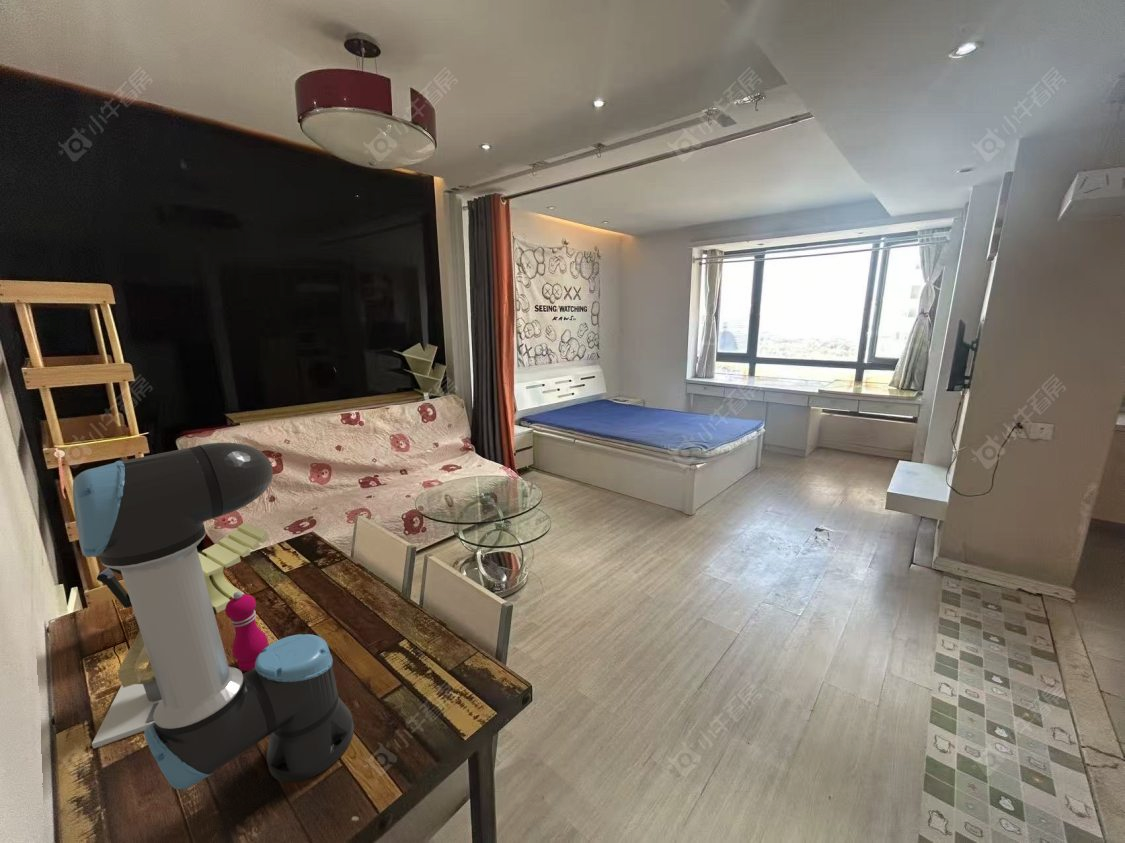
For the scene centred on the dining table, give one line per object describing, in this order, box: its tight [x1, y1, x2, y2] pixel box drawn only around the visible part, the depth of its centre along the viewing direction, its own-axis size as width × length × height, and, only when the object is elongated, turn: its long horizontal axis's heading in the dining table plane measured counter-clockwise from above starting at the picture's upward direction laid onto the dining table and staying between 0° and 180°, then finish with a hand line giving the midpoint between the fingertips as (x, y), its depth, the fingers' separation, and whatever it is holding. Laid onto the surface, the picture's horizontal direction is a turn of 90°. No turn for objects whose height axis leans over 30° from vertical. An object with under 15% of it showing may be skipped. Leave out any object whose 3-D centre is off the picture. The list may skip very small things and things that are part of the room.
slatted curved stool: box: [198, 522, 270, 614], centre depth 131 cm, size 30×16×18 cm, turn 149°
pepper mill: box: [224, 590, 269, 672], centre depth 108 cm, size 7×7×20 cm
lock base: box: [91, 680, 162, 749], centre depth 100 cm, size 18×18×7 cm
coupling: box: [117, 630, 156, 688], centre depth 97 cm, size 11×22×10 cm, turn 28°
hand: (154, 625), depth 104 cm, fingers closed
